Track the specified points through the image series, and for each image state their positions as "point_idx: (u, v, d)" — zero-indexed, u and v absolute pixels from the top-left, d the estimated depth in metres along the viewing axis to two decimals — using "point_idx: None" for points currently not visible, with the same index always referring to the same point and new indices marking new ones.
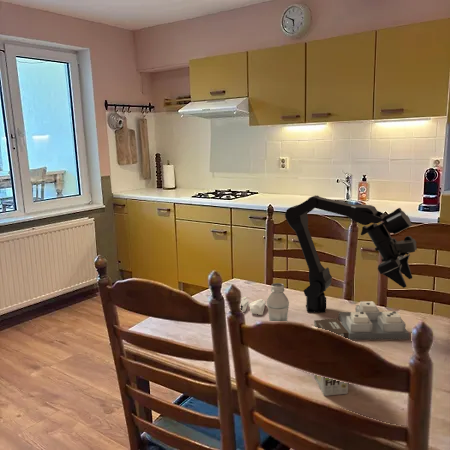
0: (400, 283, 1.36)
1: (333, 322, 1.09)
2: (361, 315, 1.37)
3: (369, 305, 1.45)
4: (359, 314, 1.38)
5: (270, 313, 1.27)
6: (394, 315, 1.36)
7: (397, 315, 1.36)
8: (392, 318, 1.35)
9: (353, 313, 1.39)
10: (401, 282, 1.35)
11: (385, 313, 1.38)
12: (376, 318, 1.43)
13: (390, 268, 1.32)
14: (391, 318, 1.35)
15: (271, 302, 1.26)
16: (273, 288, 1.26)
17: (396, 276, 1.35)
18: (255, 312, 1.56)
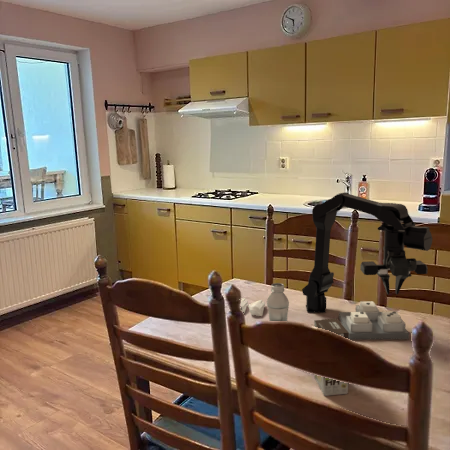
0: (385, 288, 1.36)
1: (333, 322, 1.09)
2: (361, 315, 1.37)
3: (369, 305, 1.45)
4: (359, 314, 1.38)
5: (270, 313, 1.27)
6: (394, 315, 1.36)
7: (397, 315, 1.36)
8: (392, 318, 1.35)
9: (353, 313, 1.39)
10: (385, 288, 1.35)
11: (385, 313, 1.38)
12: (376, 318, 1.43)
13: (362, 271, 1.34)
14: (391, 318, 1.35)
15: (271, 302, 1.26)
16: (273, 288, 1.26)
17: (384, 281, 1.35)
18: (255, 313, 1.55)
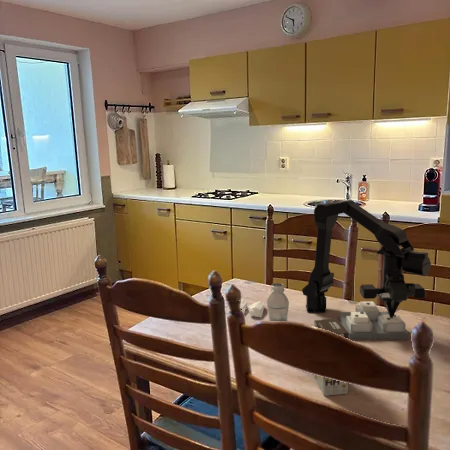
0: (388, 311, 1.37)
1: (333, 322, 1.09)
2: (361, 315, 1.37)
3: (369, 305, 1.45)
4: (359, 314, 1.38)
5: (270, 313, 1.27)
6: (394, 318, 1.36)
7: (397, 318, 1.36)
8: (392, 321, 1.35)
9: (353, 313, 1.39)
10: (388, 311, 1.37)
11: (385, 316, 1.38)
12: (376, 318, 1.43)
13: (362, 294, 1.36)
14: (391, 321, 1.35)
15: (271, 302, 1.26)
16: (273, 288, 1.26)
17: (386, 303, 1.37)
18: (254, 315, 1.54)
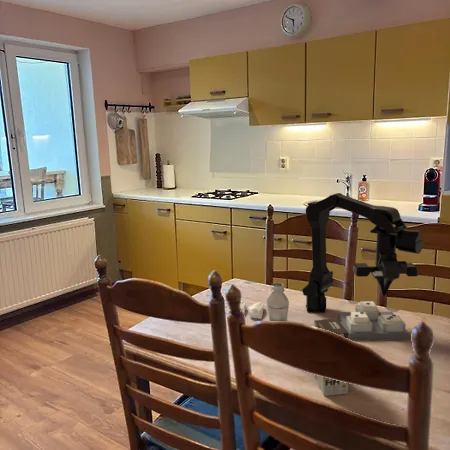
0: (380, 289, 1.39)
1: (333, 322, 1.09)
2: (361, 315, 1.37)
3: (369, 305, 1.45)
4: (359, 314, 1.38)
5: (270, 313, 1.27)
6: (394, 318, 1.36)
7: (397, 318, 1.36)
8: (392, 321, 1.35)
9: (353, 313, 1.39)
10: (380, 289, 1.38)
11: (385, 316, 1.38)
12: (376, 318, 1.43)
13: (355, 272, 1.37)
14: (391, 321, 1.35)
15: (271, 302, 1.26)
16: (273, 288, 1.26)
17: None
18: (254, 316, 1.53)
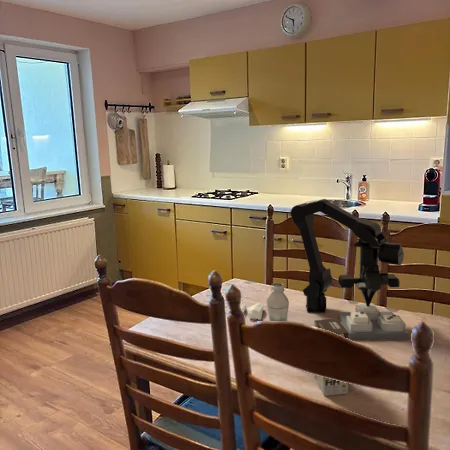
0: (364, 299, 1.46)
1: (333, 322, 1.09)
2: (361, 315, 1.37)
3: (369, 307, 1.45)
4: (359, 314, 1.38)
5: (270, 313, 1.27)
6: (394, 318, 1.36)
7: (397, 318, 1.36)
8: (392, 321, 1.35)
9: (353, 313, 1.39)
10: (365, 299, 1.46)
11: (385, 316, 1.38)
12: (376, 318, 1.43)
13: (340, 284, 1.45)
14: (391, 321, 1.35)
15: (271, 302, 1.26)
16: (273, 288, 1.26)
17: None
18: (253, 317, 1.52)
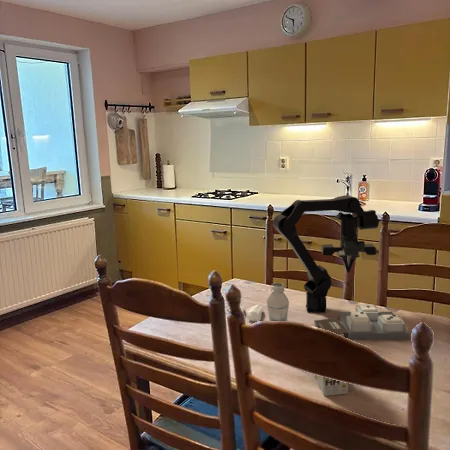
0: (345, 267, 1.59)
1: (333, 322, 1.09)
2: (361, 315, 1.37)
3: (369, 308, 1.45)
4: (359, 314, 1.38)
5: (270, 313, 1.27)
6: (394, 318, 1.36)
7: (397, 318, 1.36)
8: (392, 321, 1.35)
9: (353, 313, 1.39)
10: (345, 267, 1.59)
11: (385, 316, 1.38)
12: (376, 318, 1.43)
13: (322, 252, 1.58)
14: (391, 321, 1.35)
15: (271, 302, 1.26)
16: (273, 288, 1.26)
17: (344, 261, 1.59)
18: (253, 319, 1.50)
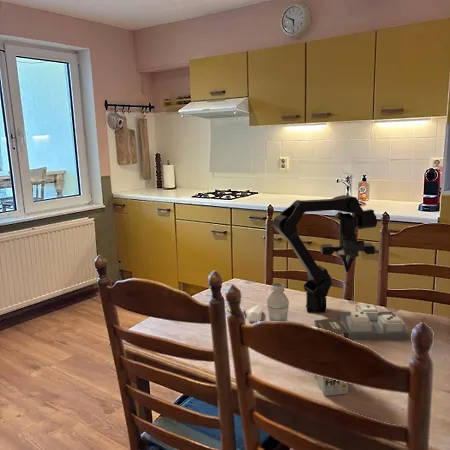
0: (344, 266, 1.60)
1: (333, 322, 1.09)
2: (361, 315, 1.37)
3: (369, 308, 1.45)
4: (359, 314, 1.38)
5: (270, 313, 1.27)
6: (394, 318, 1.36)
7: (397, 318, 1.36)
8: (392, 321, 1.35)
9: (353, 313, 1.39)
10: (344, 266, 1.59)
11: (385, 316, 1.38)
12: (376, 318, 1.43)
13: (321, 252, 1.58)
14: (391, 321, 1.35)
15: (271, 302, 1.26)
16: (273, 288, 1.26)
17: (343, 260, 1.59)
18: (253, 320, 1.50)
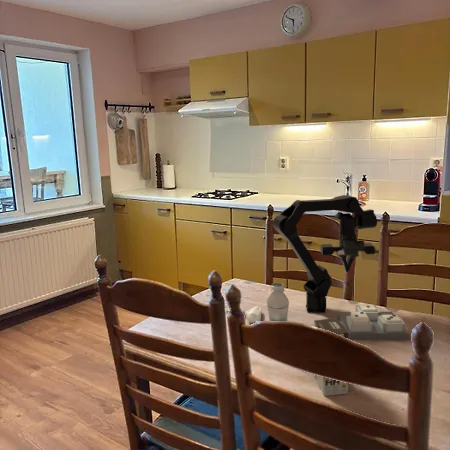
0: (344, 266, 1.60)
1: (333, 322, 1.09)
2: (361, 315, 1.37)
3: (369, 308, 1.45)
4: (359, 314, 1.38)
5: (270, 313, 1.27)
6: (394, 318, 1.36)
7: (397, 318, 1.36)
8: (392, 321, 1.35)
9: (353, 313, 1.39)
10: (344, 266, 1.59)
11: (385, 316, 1.38)
12: (376, 318, 1.43)
13: (321, 252, 1.58)
14: (391, 321, 1.35)
15: (271, 302, 1.26)
16: (273, 288, 1.26)
17: (343, 260, 1.59)
18: (252, 321, 1.49)
